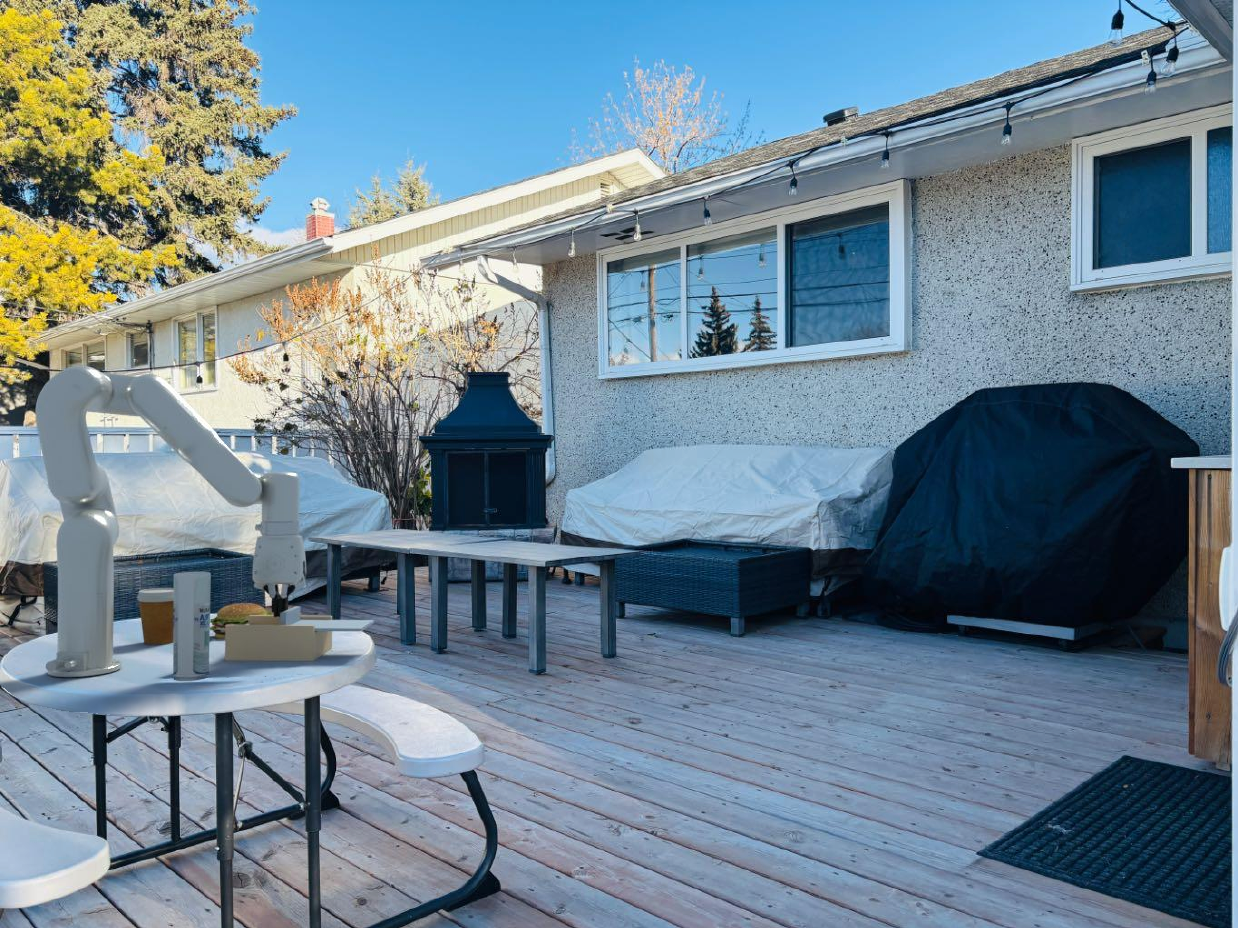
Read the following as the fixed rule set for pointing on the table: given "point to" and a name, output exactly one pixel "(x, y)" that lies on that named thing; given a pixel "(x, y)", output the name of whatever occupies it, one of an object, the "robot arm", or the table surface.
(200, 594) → the spray can
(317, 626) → the lid
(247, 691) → the table surface
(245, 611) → the food
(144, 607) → the disposable coffee cup
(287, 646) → the mailer box
